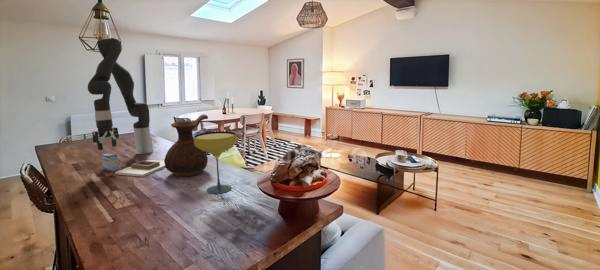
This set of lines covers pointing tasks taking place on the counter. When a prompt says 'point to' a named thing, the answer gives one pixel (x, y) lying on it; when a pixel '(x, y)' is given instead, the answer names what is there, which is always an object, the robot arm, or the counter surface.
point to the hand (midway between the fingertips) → (107, 148)
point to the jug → (186, 151)
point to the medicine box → (110, 162)
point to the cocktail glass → (216, 151)
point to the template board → (142, 168)
